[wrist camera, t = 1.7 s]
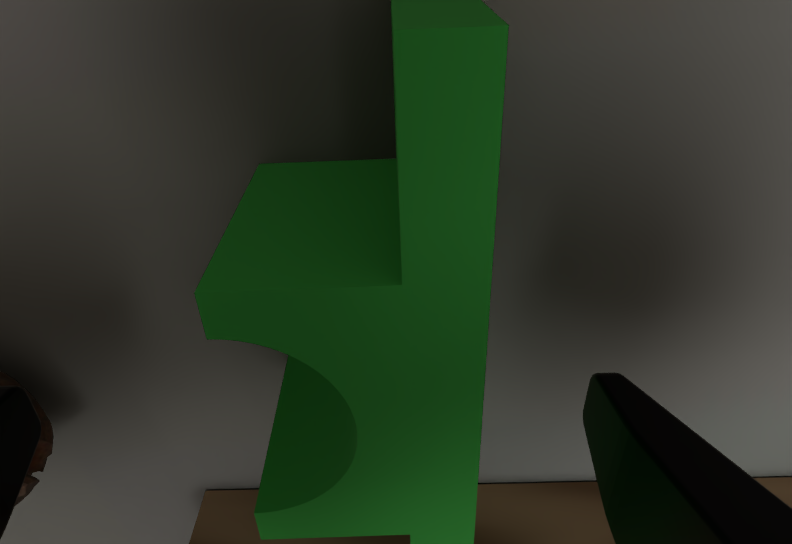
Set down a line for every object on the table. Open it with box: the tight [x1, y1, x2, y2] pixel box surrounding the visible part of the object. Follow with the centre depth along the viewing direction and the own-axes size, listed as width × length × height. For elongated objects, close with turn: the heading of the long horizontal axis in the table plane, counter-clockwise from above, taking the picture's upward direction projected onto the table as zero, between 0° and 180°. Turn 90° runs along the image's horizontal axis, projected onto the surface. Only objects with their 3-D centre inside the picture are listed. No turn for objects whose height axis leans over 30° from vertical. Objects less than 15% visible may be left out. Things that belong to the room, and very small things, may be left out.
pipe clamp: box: [194, 0, 509, 544], centre depth 10 cm, size 11×4×5 cm, turn 2°
